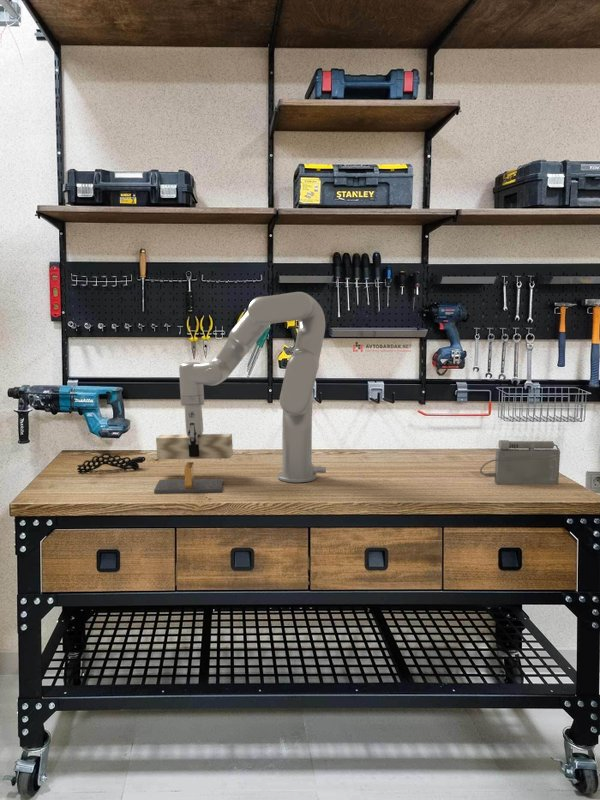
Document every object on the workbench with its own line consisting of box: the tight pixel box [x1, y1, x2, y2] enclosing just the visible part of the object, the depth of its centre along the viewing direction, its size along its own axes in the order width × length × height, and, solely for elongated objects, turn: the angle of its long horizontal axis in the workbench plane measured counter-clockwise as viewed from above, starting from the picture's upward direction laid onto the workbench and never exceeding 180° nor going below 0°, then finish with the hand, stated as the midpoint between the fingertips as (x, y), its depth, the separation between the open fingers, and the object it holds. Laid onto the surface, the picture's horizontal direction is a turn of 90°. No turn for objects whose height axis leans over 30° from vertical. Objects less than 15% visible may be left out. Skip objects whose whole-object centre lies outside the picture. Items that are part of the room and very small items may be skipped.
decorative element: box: [76, 452, 146, 474], centre depth 231 cm, size 22×5×6 cm, turn 105°
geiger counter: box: [479, 439, 561, 485], centre depth 215 cm, size 14×6×25 cm
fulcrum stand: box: [153, 461, 224, 494], centre depth 210 cm, size 20×12×7 cm, turn 94°
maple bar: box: [155, 433, 234, 460], centre depth 223 cm, size 24×6×7 cm, turn 86°
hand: (195, 453), depth 223 cm, fingers closed on maple bar, 6 cm apart
